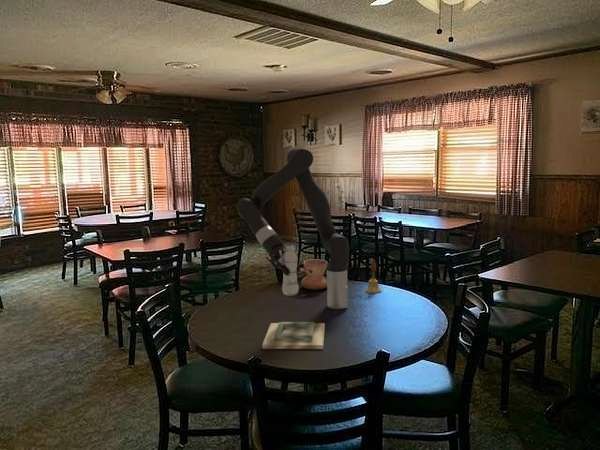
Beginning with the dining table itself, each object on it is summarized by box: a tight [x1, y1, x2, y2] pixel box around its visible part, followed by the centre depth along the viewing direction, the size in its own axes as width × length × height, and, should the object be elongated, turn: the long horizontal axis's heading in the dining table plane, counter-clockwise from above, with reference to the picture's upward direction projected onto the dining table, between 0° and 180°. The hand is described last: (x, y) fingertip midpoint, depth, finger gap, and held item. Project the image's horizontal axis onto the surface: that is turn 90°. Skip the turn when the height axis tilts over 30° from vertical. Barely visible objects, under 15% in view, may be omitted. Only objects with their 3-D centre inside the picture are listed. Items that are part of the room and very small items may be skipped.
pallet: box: [261, 321, 326, 350], centre depth 182 cm, size 22×22×4 cm
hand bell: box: [364, 259, 383, 294], centre depth 238 cm, size 8×8×16 cm
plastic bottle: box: [281, 243, 300, 296], centre depth 185 cm, size 6×7×20 cm
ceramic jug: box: [299, 258, 328, 291], centre depth 247 cm, size 18×14×14 cm
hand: (293, 272), depth 184 cm, fingers closed on plastic bottle, 6 cm apart
